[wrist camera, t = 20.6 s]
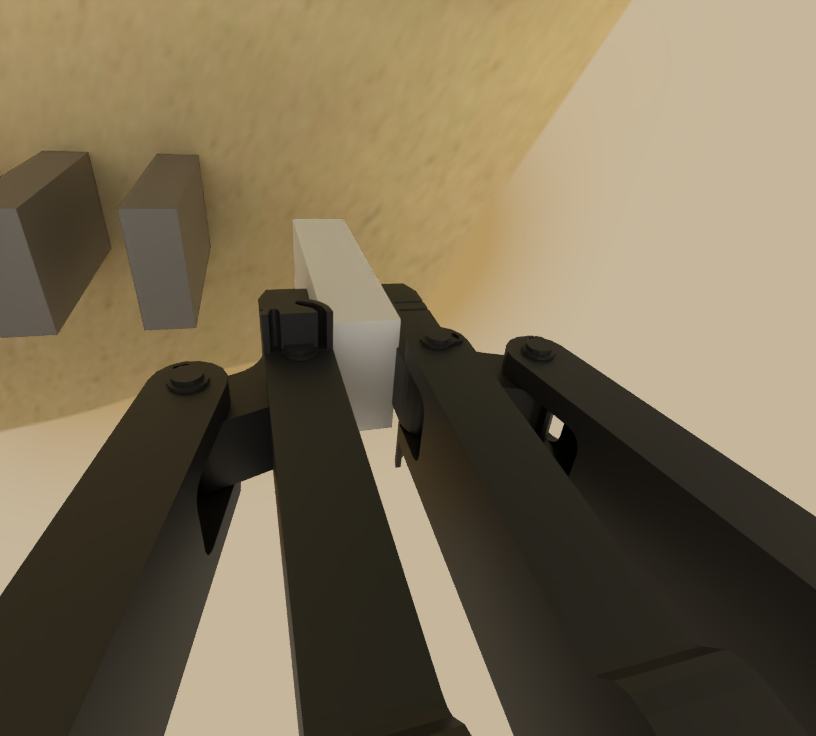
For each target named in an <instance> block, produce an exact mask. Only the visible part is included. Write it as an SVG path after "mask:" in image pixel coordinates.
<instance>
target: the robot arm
mask: <svg viewBox="0 0 816 736" xmlns="http://www.w3.org/2000/svg"><path fill="white" fill-rule="evenodd" d="M293 246H294V274H295V289H278V290H266V291H265V292H264V293H263V294H262V295H261V297H260V298H259V299H258V303H259V316H260V329H261V342H262V354H263V355H262V357H261V359H260V360H259V362H257V363H256V364H255V365H254V366H252V367H251V368H249V369H247V370H245V371H242V372H239V373H236V374H233V375H229V376H228V375H227V373H226V372H225V371H224V369H223V368H221V367H219V366H217V365H215V364H213V363H208V362H201V361H193V362H189V361H186V362H180V363H176V364H173V365H170V366H168V367H165V368H163V369H161V370H159V371H157V372H156V373H155V374H154V375H153V376H152V377H151V378H150V379H148V381H147V382H146V384H145V385H144V387H143V388H142V390H141V391H140V393H139V394H138V395H137V397H136V399H135V400H134V401H133V403H132V404H131V406H130V407H129V409H128V410H127V412H126V413H125V414H124V416H123V417H122V419H121V420H120V422H119V423H118V425H117V426H116V428H115V429H114V431H113V432H112V434H111V435H110V436H109V438H108V439H107V441H106V443H105V444H104V445H103V447H102V448H101V450H100V451H99V452H98V454H97V455H96V457H95V458H94V460H93V461H92V463H91V464H90V466H89V467H88V469H87V470H86V471H85V473H84V474H83V476H82V478H81V479H80V480H79V482H78V483H77V485H76V486H75V488H74V489H73V491H72V492H71V494H70V495H69V496H68V498H67V499H66V501H65V502H64V504H63V505H62V507H61V508H60V510H59V511H58V513H57V514H56V515H55V517H54V518H53V520H52V521H51V523H50V524H49V526H48V527H47V528H46V530H45V531H44V533H43V534H42V536H41V537H40V539H39V540H38V542H37V543H36V545H35V546H34V548H33V549H32V551H31V552H30V553H29V555H28V556H27V558H26V559H25V561H24V562H23V564H22V565H21V566H20V568H19V569H18V571H17V572H16V574H15V575H14V577H13V578H12V580H11V581H10V583H9V584H8V585H7V587H6V588H5V590H4V591H3V593H2V594H1V596H0V736H164V733H165V730H166V727H167V724H168V721H169V717H170V714H171V711H172V708H173V705H174V702H175V698H176V695H177V692H178V689H179V686H180V683H181V679H182V676H183V673H184V670H185V666H186V663H187V660H188V657H189V654H190V651H191V647H192V644H193V641H194V638H195V634H196V632H197V628H198V625H199V622H200V618H201V616H202V612H203V609H204V606H205V603H206V600H207V596H208V593H209V590H210V587H211V584H212V581H213V577H214V574H215V571H216V568H217V565H218V561H219V558H220V555H221V552H222V548H223V546H224V542H225V539H226V536H227V533H228V529H229V526H230V523H231V520H232V517H233V514H234V510H235V507H236V504H237V501H238V497H239V495H240V491H241V481H244V480H247V479H249V478H252V477H254V476H257V475H260V474H262V473H265V472H267V471H270V470H273V474H274V484H275V494H276V503H277V515H278V525H279V535H280V545H281V555H282V565H283V576H284V586H285V596H286V607H287V617H288V626H289V637H290V647H291V658H292V668H293V678H294V688H295V698H296V708H297V717H298V718H297V719H298V729H299V736H471V735H470V732H469V731H468V729H467V727H466V726H465V724H463V723H462V722H460V721H459V720H457V719H456V718H454V717H453V716H452V714H451V713H450V711H449V709H448V708H447V705H446V702H445V700H444V697H443V694H442V691H441V688H440V685H439V682H438V679H437V676H436V672H435V669H434V666H433V663H432V660H431V657H430V653H429V650H428V647H427V644H426V641H425V638H424V634H423V631H422V628H421V625H420V622H419V619H418V615H417V612H416V609H415V606H414V603H413V600H412V597H411V593H410V590H409V587H408V584H407V581H406V578H405V575H404V572H403V568H402V565H401V562H400V559H399V556H398V553H397V549H396V546H395V543H394V540H393V537H392V534H391V531H390V527H389V524H388V521H387V518H386V514H385V511H384V508H383V505H382V502H381V499H380V496H379V493H378V489H377V486H376V483H375V480H374V477H373V473H372V470H371V467H370V464H369V461H368V458H367V455H366V451H365V448H364V445H363V442H362V439H361V436H360V433H359V431H362V430H371V429H380V428H389V427H392V418H393V407H394V409H395V412H396V414H397V417H398V419H399V424H398V434H397V446H396V455H395V466H396V467H400V466H401V458H402V457H403V455H404V458H405V460H406V463H407V466H408V468H409V470H410V473H411V476H412V478H413V481H414V483H415V486H416V488H417V491H418V493H419V496H420V498H421V501H422V503H423V506H424V509H425V511H426V514H427V516H428V519H429V521H430V524H431V526H432V529H433V531H434V534H435V537H436V539H437V542H438V544H439V546H440V549H441V552H442V554H443V557H444V560H445V562H446V565H447V567H448V570H449V572H450V575H451V577H452V580H453V582H454V585H455V587H456V590H457V593H458V595H459V598H460V600H461V603H462V605H463V608H464V610H465V613H466V615H467V618H468V620H469V623H470V625H471V628H472V631H473V633H474V636H475V638H476V641H477V643H478V646H479V649H480V651H481V654H482V656H483V659H484V661H485V664H486V666H487V669H488V671H489V674H490V676H491V679H492V682H493V684H494V686H495V689H496V692H497V694H498V697H499V699H500V702H501V705H502V707H503V709H504V712H505V715H506V717H507V720H508V722H509V725H510V727H511V730H512V732H513V735H514V736H816V517H815V516H814V515H812V514H811V513H809V512H808V511H806V510H805V509H803V508H802V507H800V506H799V505H798V504H796V503H795V502H793V501H791V500H790V499H789V498H787V497H786V496H784V495H783V494H781V493H779V492H778V491H777V490H775V489H774V488H772V487H771V486H769V485H768V484H766V483H765V482H763V481H762V480H760V479H759V478H757V477H756V476H754V475H753V474H751V473H750V472H748V471H747V470H745V469H744V468H742V467H741V466H739V465H738V464H736V463H735V462H733V461H732V460H730V459H729V458H727V457H726V456H725V455H723V454H722V453H720V452H719V451H717V450H716V449H714V448H713V447H711V446H710V445H708V444H707V443H705V442H704V441H702V440H701V439H699V438H698V437H696V436H695V435H693V434H692V433H690V432H689V431H687V430H686V429H684V428H683V427H681V426H680V425H678V424H677V423H675V422H674V421H672V420H671V419H669V418H668V417H666V416H665V415H663V414H662V413H660V412H659V411H657V410H656V409H654V408H653V407H652V406H650V405H649V404H647V403H646V402H644V401H642V400H641V399H640V398H638V397H637V396H635V395H634V394H632V393H631V392H629V391H628V390H626V389H625V388H623V387H622V386H620V385H619V384H617V383H616V382H614V381H613V380H611V379H610V378H608V377H607V376H605V375H604V374H602V373H601V372H599V371H598V370H596V369H595V368H593V367H592V366H591V365H589V364H588V363H586V362H585V361H583V360H582V359H580V358H579V357H577V356H576V355H574V354H573V353H571V352H570V351H568V350H566V349H565V348H564V347H562V346H561V345H559V344H557V343H555V342H553V341H551V340H547V339H544V338H542V337H538V336H535V337H534V336H524V337H516V338H515V339H512V340H510V341H509V342H508V344H507V345H506V349H505V354H504V355H498V354H489V353H481V352H476V351H475V350H474V348H473V347H472V345H471V344H470V343H469V341H468V340H467V339H466V338H465V337H464V336H463V335H461V334H460V333H458V332H456V331H453V330H451V329H447V328H442V327H440V326H439V324H438V323H437V321H436V320H435V318H434V317H433V315H432V314H431V312H430V311H429V310H427V307H426V305H425V304H424V302H422V299H421V298H420V296H419V295H418V293H417V292H416V291H415V290H413V289H411V288H410V287H408V286H406V285H405V284H380V282H379V280H378V279H377V277H376V275H375V273H374V272H373V270H372V268H371V266H370V265H369V263H368V261H367V259H366V258H365V256H364V254H363V252H362V250H361V249H360V247H359V245H358V243H357V242H356V240H355V238H354V236H353V235H352V233H351V231H350V229H349V228H348V226H347V224H346V222H345V221H344V219H293ZM553 415H555V416H556V417H557V418H558V419H560V420H561V421H562V422H563V423H564V426H563V429H562V432H561V436H560V437H559V439H557V438H555V437H553V436H552V435H551V434H550V433H549V428H550V424H551V421H552V418H553Z"/></svg>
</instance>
